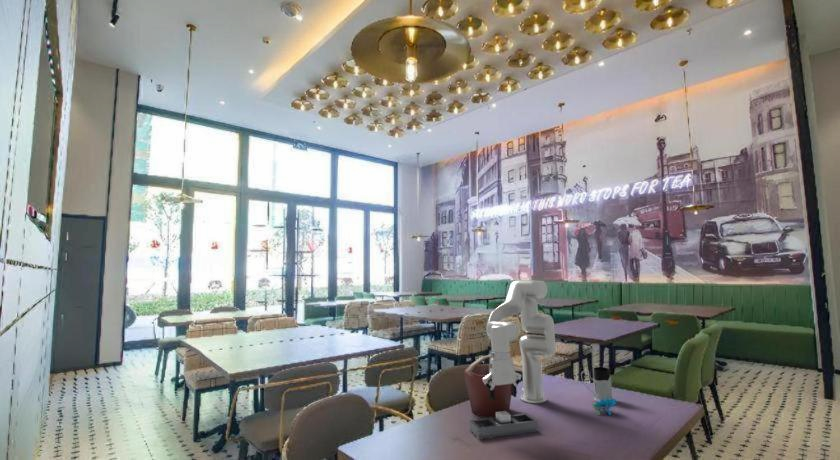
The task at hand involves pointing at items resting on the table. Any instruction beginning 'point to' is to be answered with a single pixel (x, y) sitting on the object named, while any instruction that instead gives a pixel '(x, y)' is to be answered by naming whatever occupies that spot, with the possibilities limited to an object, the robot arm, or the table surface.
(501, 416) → the white slotted box
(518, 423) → the grey compartment tray
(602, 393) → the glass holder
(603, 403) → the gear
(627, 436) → the table surface
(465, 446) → the table surface
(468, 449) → the table surface
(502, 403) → the bucket
